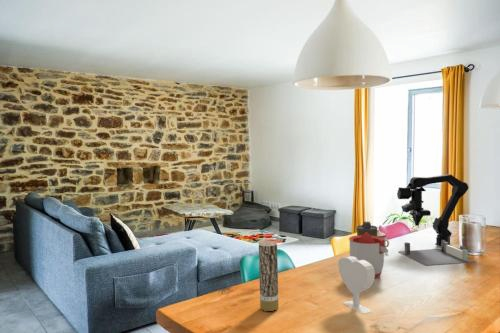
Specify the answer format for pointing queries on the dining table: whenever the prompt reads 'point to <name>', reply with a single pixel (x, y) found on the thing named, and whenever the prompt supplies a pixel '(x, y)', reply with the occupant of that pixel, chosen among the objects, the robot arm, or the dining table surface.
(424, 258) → the mat
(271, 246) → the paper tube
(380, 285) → the dining table surface
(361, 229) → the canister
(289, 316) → the dining table surface
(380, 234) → the teacup with lid
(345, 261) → the heart sculpture
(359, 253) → the citrus juicer
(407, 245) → the posts
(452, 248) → the cream rectangular bar
